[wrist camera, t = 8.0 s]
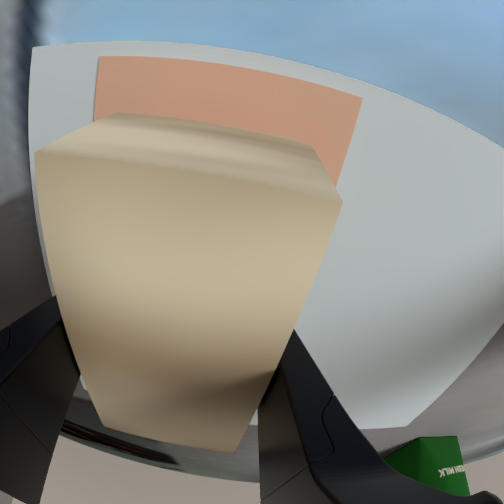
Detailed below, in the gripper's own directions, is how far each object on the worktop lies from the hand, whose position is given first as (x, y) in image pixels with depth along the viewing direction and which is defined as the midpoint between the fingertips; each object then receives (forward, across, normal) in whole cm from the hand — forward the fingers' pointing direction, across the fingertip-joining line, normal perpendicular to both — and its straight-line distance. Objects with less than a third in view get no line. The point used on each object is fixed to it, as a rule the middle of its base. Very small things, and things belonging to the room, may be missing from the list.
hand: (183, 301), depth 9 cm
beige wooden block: (+1, 0, 0) cm, 1 cm away
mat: (+3, -5, +3) cm, 7 cm away
